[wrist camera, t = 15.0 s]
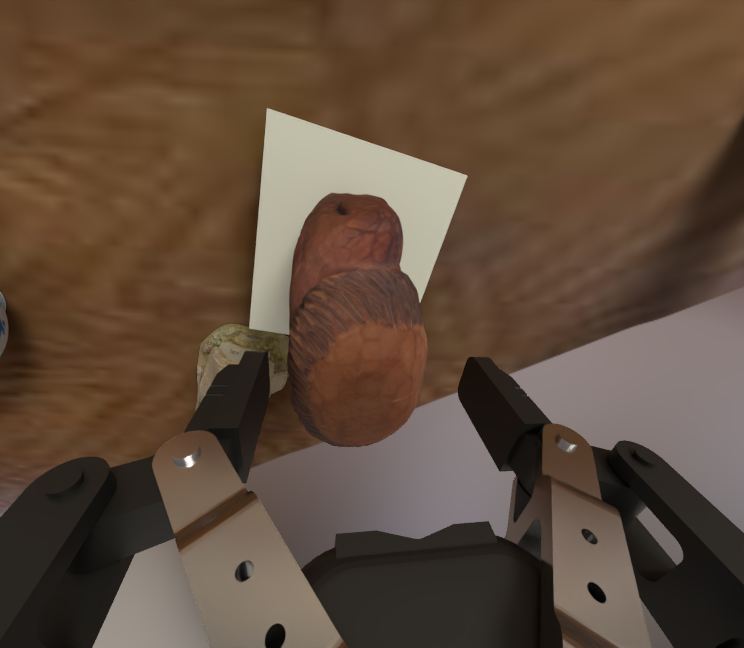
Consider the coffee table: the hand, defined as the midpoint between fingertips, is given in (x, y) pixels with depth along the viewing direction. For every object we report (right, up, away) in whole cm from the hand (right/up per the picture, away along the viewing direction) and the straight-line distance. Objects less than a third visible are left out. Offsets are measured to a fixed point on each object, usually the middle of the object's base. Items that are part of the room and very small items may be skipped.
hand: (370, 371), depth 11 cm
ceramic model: (-16, -4, +25) cm, 30 cm away
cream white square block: (-3, +11, +19) cm, 22 cm away
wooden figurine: (-3, +8, +14) cm, 16 cm away
